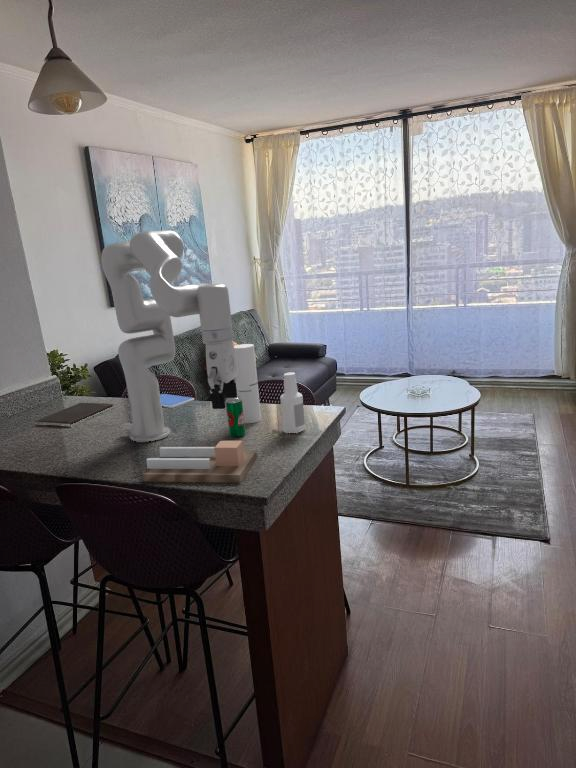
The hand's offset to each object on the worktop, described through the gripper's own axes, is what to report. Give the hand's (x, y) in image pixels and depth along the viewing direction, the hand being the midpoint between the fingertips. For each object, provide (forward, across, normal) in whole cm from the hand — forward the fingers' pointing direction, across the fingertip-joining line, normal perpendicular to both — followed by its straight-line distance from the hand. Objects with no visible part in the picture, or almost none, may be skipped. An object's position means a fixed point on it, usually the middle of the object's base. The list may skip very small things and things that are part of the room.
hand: (225, 402), depth 139 cm
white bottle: (+18, +30, -10) cm, 37 cm away
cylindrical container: (+18, +41, +7) cm, 45 cm away
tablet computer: (+18, +66, +48) cm, 84 cm away
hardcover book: (+18, +48, +76) cm, 92 cm away
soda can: (+18, +26, +7) cm, 33 cm away
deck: (+18, 0, +9) cm, 20 cm away
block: (+16, 0, 0) cm, 16 cm away
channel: (+16, 0, +13) cm, 21 cm away
